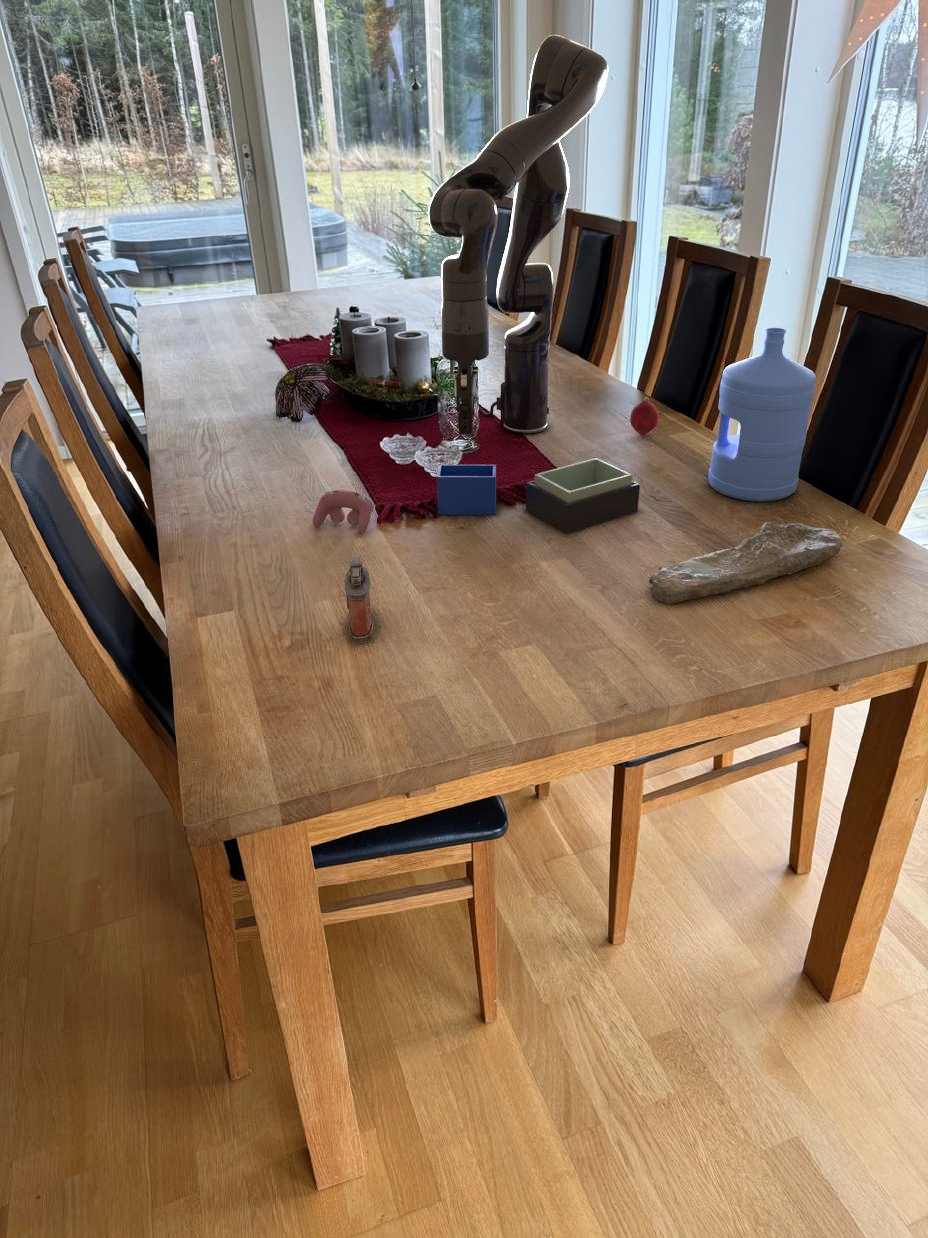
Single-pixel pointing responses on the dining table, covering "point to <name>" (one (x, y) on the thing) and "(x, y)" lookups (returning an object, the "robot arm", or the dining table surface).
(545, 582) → the dining table surface
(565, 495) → the middle bin
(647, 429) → the onion
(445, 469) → the blue bin
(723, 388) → the water jug
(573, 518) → the outer bin
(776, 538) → the elongated rock
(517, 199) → the robot arm
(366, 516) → the video game controller
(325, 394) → the decorative flower
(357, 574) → the lighter
